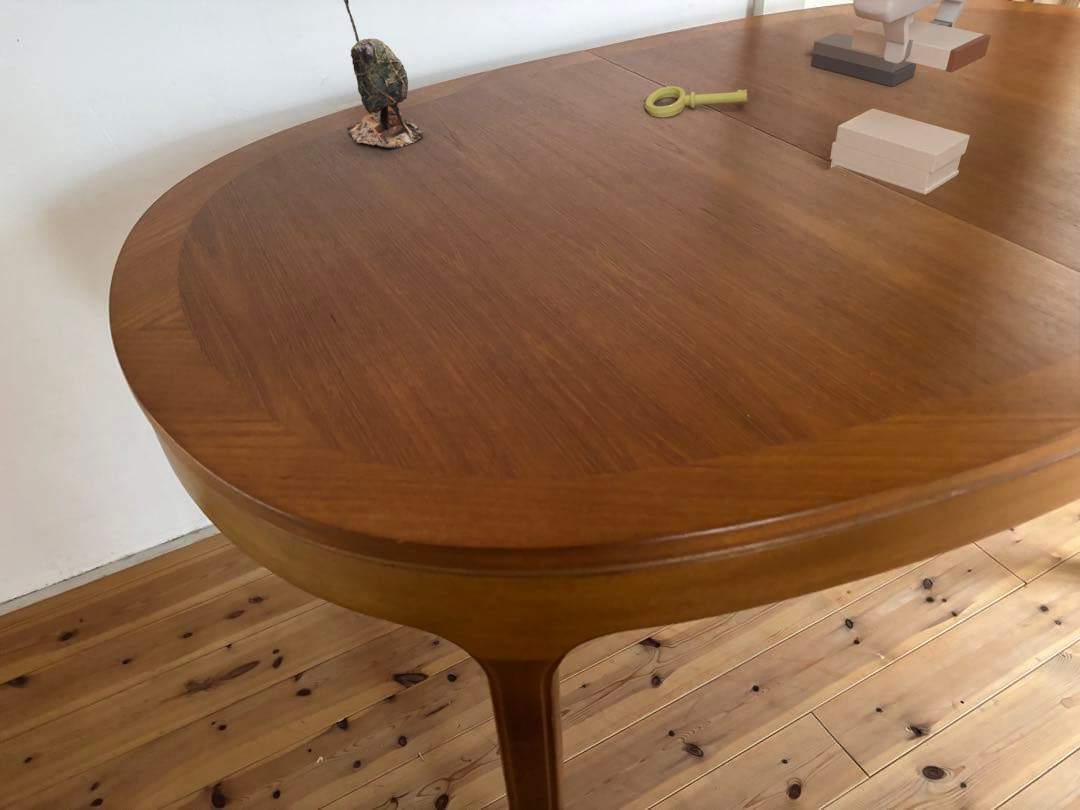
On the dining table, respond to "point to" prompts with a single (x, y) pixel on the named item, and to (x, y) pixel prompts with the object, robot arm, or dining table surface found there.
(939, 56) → the white book
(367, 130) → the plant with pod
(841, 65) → the grey stack
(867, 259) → the dining table surface
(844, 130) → the beige box
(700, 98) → the key
